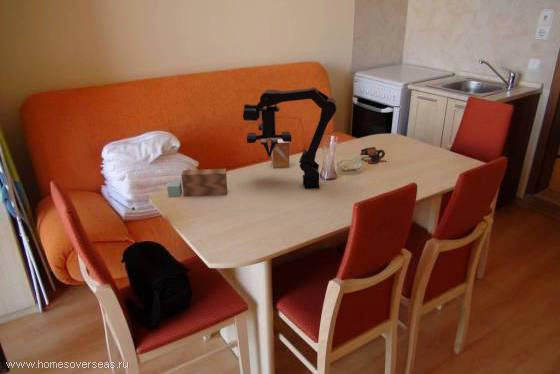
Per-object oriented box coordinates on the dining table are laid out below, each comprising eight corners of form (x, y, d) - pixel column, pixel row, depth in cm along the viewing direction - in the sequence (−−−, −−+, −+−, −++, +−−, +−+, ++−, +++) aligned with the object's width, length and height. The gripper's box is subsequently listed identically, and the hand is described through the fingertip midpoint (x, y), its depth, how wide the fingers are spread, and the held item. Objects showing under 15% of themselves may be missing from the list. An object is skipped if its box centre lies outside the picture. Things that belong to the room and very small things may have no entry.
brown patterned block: (227, 190, 188) (225, 168, 183) (226, 195, 183) (225, 173, 179) (185, 191, 187) (182, 170, 182) (183, 196, 182) (181, 174, 178)
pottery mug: (362, 165, 212) (358, 149, 213) (362, 167, 221) (359, 151, 222) (386, 160, 210) (383, 144, 210) (386, 162, 219) (383, 146, 219)
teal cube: (182, 192, 186) (181, 181, 184) (180, 197, 182) (179, 186, 180) (170, 192, 186) (169, 181, 184) (168, 197, 182) (167, 186, 179)
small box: (273, 168, 209) (272, 142, 203) (271, 163, 215) (271, 138, 209) (289, 167, 210) (289, 141, 204) (287, 162, 215) (287, 137, 210)
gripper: (289, 115, 189) (289, 149, 195) (246, 116, 188) (247, 150, 194) (291, 122, 178) (291, 158, 185) (246, 124, 177) (247, 159, 184)
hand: (269, 156), depth 187 cm, fingers closed
